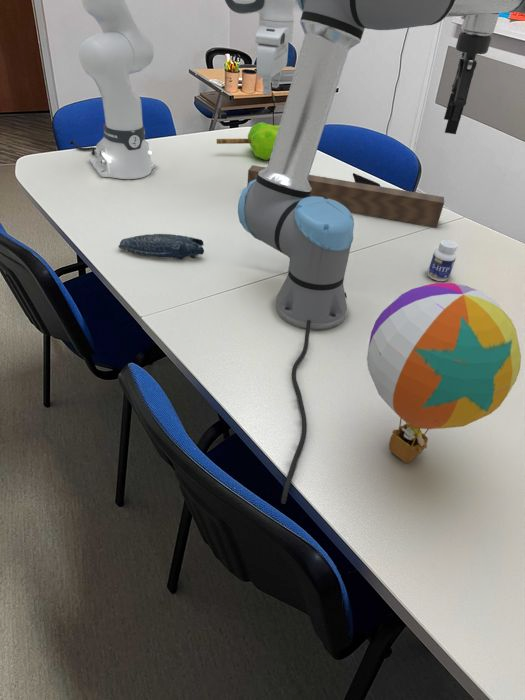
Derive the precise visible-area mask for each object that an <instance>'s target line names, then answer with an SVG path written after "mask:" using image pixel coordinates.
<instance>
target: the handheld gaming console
mask: <svg viewBox="0 0 525 700" xmlns="http://www.w3.org/2000/svg"><path fill="white" fill-rule="evenodd" d="M352 177H353V180H354V182H356V183H362V184H368V185H375V186H381V184H380V183H378V182H376V181H374V180H371V179H369V178H367V177H364V176H362V175H360V174H357V173H355V172H353V173H352Z"/></svg>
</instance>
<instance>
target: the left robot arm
mask: <svg viewBox="0 0 525 700" xmlns="http://www.w3.org/2000/svg"><path fill="white" fill-rule="evenodd" d="M224 2H225V4H226V5H227V7H228V8H229V9H230V10H231V11H232V12H234V13H236V14H239V15H247V14H253V13H258V15H259V18H258V19H259V21H258V29H257V31H256V33H255V39H254V42H255V44H257V46H256V75H257V78H259V79H262V80H261V81H262V89H263V90H262V93H263V95H264V96H269V95H271V93H272V89H273V88H274V89H278V88H279V87H280V80H281V77H282V73H283V72H282V71H283V70H284V69H285V68H286V67H287V66H288V65H287V64H288V56H289V43H292V41H293V35H294V22H295V15H294V8H295V5H296V2H297V0H224ZM81 3H82V6H83V8H84V10H85V11H86V13H87V14H89V15H90V16H92V18H93V19H94V20H95V21H96V22H97V24H98V25H99V27H100V29H101V30H102V33H96V34H94V35H91V36H89V37H88V38H86V39H84V40H83V41H82V42H81V44H80V45H79V49H78V59H79V63H80V64H81V67H82V69H83V70H84V72H85V74H87V75H88V76H89V77H90V78H92V79H93V81H94V82H95V84H96V86H97V88H98V91H99V93H100V96H101V99H102V100H101V101H102V107H103V114H104V122H105V123H103V137H102V138H101V139H100V141H98V142H97V144H96V145H95V146H91V147H81V146H79V145H78V144H77V143H76V141H75V140H71V141H70V143H69V144H70V145H74V147H75V148H76V149H78V150H80V151H91V154H92V155H94V156H93V157H91V158H90V159H89V161H90V164H91V165H92V166H93V168H94V169H95V170H96V172H97V173H98V174H99V176H100V177H102V178H114V179H120V180H136V179H137V180H138V179H142V178H145V177H148V176H149V175H150V174H152V171H153V169H155V168H156V166H155V163H153V162H152V159H151V158H152V157H151V155H152V151H150V144H149V142H148V141H147V140H146V139H145V138H146V129H145V125H144V123H143V108H142V99H141V97H140V95H139V94H137V93H136V92H135V91H134V90H133V88H132V85H131V82H130V75H131V74H135V73H139V72H142V71H143V70H145V68H147V67H148V66H149V65H150V64H151V63H153V62H152V61H153V60H154V54H155V53H154V50H155V49H154V45H153V43H152V41H151V39H150V38H149V37H150V36H148V35H147V34H146V33H145V32H144V31H142V29H141V28H140V27H139V25H138V24H137V22H136V20H135V19H134V16H133V15H132V13H131V11H130V9H129V7H128V4H127V2H126V0H81Z"/></svg>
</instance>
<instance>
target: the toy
mask: <svg viewBox="0 0 525 700" xmlns="http://www.w3.org/2000/svg"><path fill="white" fill-rule="evenodd" d="M367 347H368V348H367V354H366V355H367V356H366V362H367V370H368V372H369V375H370V377H371V379H372V380H371V381H372V382H373V385H374V387H375V389H376V391H377V394H378V395H379V397H381V399H382V401H384V402H385V403H386V405H387V406H388V407H389V408H390V409H391V410H392V411H393V412H394V413H395V414H396V415H397V416H398V417H399V418H400V419H399V425H398V428H397V429H393V430H392V434H391V436H390V440H389V444H388V449H389V451H390V453H392V454H394V455H395V456H396V457H397V458H399V460H401V461H402V462H404V463H405V464H409V463H410V462H412V461H413V460H414V459H415V458H417V457H418V456H419V455H420V454H421V453H423V451H424V449H427V447H428V440H429V438H428V437H427V436H426V434H427V433H428V431H429V430H437V429H453V428H461V427H466V426H467V425H469V424H472V423H475V422H477V421H478V420H481V419H483V418H485V417H487V416H489V415H492V413H494V412H495V411H496V410H497V409H498V408H500V407H501V405H502V404H503V402H504V401H505V399H506V398H507V396H508V395H509V394H510V391H512V388H513V387H514V385H515V383H516V382H517V379H518V376H519V373H520V371H521V362H522V354H521V349H520V343H519V338H518V333H517V329H516V327H515V324H514V323H513V321H512V319H511V317H510V316H509V315H508V314H507V312H506V311H505V310H504V309H503V307H502V306H500V304H499V303H498V302H497V301H496V300H495V299H493V298H491V297H490V296H489V295H487V294H485V293H484V292H483V291H481V290H478V289H475V288H473V287H470V286H467V285H464V284H458V283H453V282H434V283H429V284H424V285H421V286H418V287H414V288H411V289H409V290H407V291H405V292H403V293H402V294H401V295H399V296H398V297H397V298H396V299H394V301H393V302H392V303H390V304H389V305H388V306H387V307H386V308H385V309H383V310H382V311H381V313H380V314H379V315H378V317H377V319H376V320H375V321H374V324H373V327H372V330H371V332H370V338H369V342H368V346H367ZM402 420H403V421H404V422H405V423H404V424H403V425H402ZM421 429H422V430H426V431H425V432H424V433H423V432H422V430H421Z"/></svg>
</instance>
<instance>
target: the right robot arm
mask: <svg viewBox="0 0 525 700" xmlns="http://www.w3.org/2000/svg"><path fill="white" fill-rule="evenodd" d="M296 2H297V5H298V7H299V9H300V11H301V17H300V20H299V24H300V26H301V28H302V31H303V35H304V36H303V40H302V44H301V46H300V50H299V51H300V52H299V55H298V58H297V62H296V65H295V68H294V73H293V76H292V80H291V82H290V86H289V89H288V90H289V91H288V94H287V97H286V99H285V100H286V101H285V104H284V107H283V111H282V115H281V118H280V122H279V129H278V132H277V136H276V139H275V143H274V146H273V150H272V153H271V157H270V159H268V160H269V161H268V165H267V166H266V168H265V169H263V170H261V171H259V173H258V176H257V179H255V180H253V181H251V182H250V183H249V184H248V185H247V186H248V187H244V188H243V189H242V191H241V193H240V196H239V198H238V202H237V203H238V204H237V216H238V220H239V223H240V224H241V226H242V228H243V229H244V230H245V231H246V233H249V234H250V235H251V236H252V237H253V238H254V239H256V240H258V241H261V242H263V243H264V244H266V245H267V246H270V247H271V248H273V249H274V250H276V251H277V252H280V253H282V254H283V255H285V256H286V257H288V258H289V262H288V263H289V264H288V270H287V271H288V272H287V275H286V278H285V279H284V282H283V283H282V285H281V287H280V290H279V291H278V294H277V296H276V300H275V311H276V313H277V315H278V316H279V317H280V318H281V319H282V320H283V321H284V322H286V323H287V324H289V325H291V326H293V327H296V328H300V329H304V330H305V331H304V342H303V348H302V351H301V353H300V354H299V356H298V357H297V359H296V360H295V362H294V363H293V366H292V368H291V381H292V385H293V388H294V391H295V394H296V397H297V402H298V403H297V404H298V408H299V413H300V417H301V433H300V439H299V441H298V445H297V447H296V449H295V452H294V454H293V456H292V457H293V458H292V460H291V463H290V466H289V469H288V472H287V475H286V479H285V482H284V485H283V489H282V493H281V499H280V503H281V505H285V504H286V503H287V500H288V496H289V492H290V487H291V483H292V481H293V477H294V474H295V471H296V468H297V465H298V461H299V458H300V456H301V453H302V451H303V449H304V445H305V443H306V437H307V432H308V431H307V430H308V424H307V423H308V422H307V415H306V409H305V406H304V401H303V396H302V391H301V389H300V386H299V384H298V380H297V369H298V367H299V365H300V363H301V362H302V361H303V359H304V358H305V356H306V354H307V352H308V347H309V340H310V339H309V338H310V331H324V330H325V331H326V330H329V329H333V328H336V327H337V326H339V325H340V324H342V323H343V322H344V320H345V318H346V315H347V310H348V307H347V306H348V305H347V299H348V298H347V296H348V295H347V292H345V286H344V280H345V275H346V271H347V267H348V261H349V257H350V253H351V252H350V251H351V246H352V244H353V240H354V230H355V229H354V228H355V218H354V216H353V213H351V212H350V211H349V210H348V209H347V208H346V207H345V206H344V205H342V204H340V203H339V202H337V201H334V200H332V199H324V198H323V197H317V196H312V197H310V194H311V191H312V188H311V186H310V183H309V181H308V176H309V175H310V174H311V170H312V166H313V163H314V160H315V157H316V155H317V151H318V148H319V145H320V142H321V138H322V136H323V133H324V130H325V126H326V123H327V119H328V117H329V113H330V110H331V107H332V104H333V101H334V98H335V94H336V91H337V89H338V85H339V82H340V80H341V77H342V74H343V70H344V67H345V63H346V60H347V57H348V54H349V51H350V50H351V49H353V48H354V47H355V46H357V45H358V44H360V43H361V40H362V38H363V34H364V32H365V30H366V29H368V30H374V31H393V30H403V29H409V28H417V27H424V26H425V27H426V26H433V25H437V24H439V23H441V22H442V21H443V20H444V19H446V18H453V17H460V19H461V20H463V21H462V23H461V30H462V31H461V32H460V33H459V34H458V38H457V41H456V45H455V50H456V51H458V52H461V58H459V60H458V65H457V69H456V73H455V77H454V80H453V82H452V83H453V84H452V85H451V92H450V95H449V99H448V103H447V106H446V110H445V113H444V118H443V120H445V121H447V123H446V126H445V130H444V134H451V135H456V134H457V131H458V128H459V124H460V121H461V118H462V114H463V112H464V107H465V106H466V105H467V99H468V95H469V92H470V88H471V84H472V80H473V77H474V73H475V70H476V68H477V65H478V64H477V63H478V62H477V60H476V56H477V55H485V54H487V53H488V51H489V48H490V45H491V41H492V35H491V34H494V32H495V29H496V25H497V22H498V19H499V16H500V14H502V13H504V14H505V13H507V14H509V13H519V14H524V15H525V0H296Z"/></svg>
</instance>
